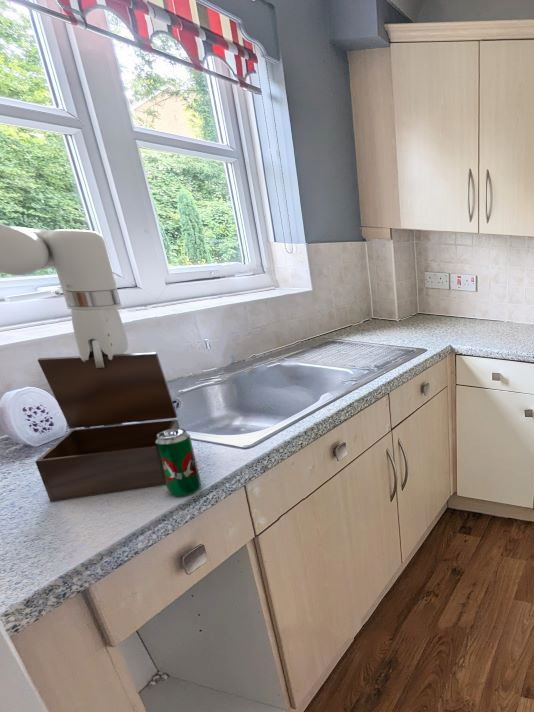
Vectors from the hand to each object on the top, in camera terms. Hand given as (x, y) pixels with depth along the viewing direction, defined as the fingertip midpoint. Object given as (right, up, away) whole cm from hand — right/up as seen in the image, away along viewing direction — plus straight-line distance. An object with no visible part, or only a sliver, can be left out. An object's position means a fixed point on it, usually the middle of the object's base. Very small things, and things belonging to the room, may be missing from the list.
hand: (119, 390), depth 92 cm
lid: (+1, 0, -3) cm, 3 cm away
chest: (+3, -17, -2) cm, 17 cm away
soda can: (+18, -19, -6) cm, 27 cm away
